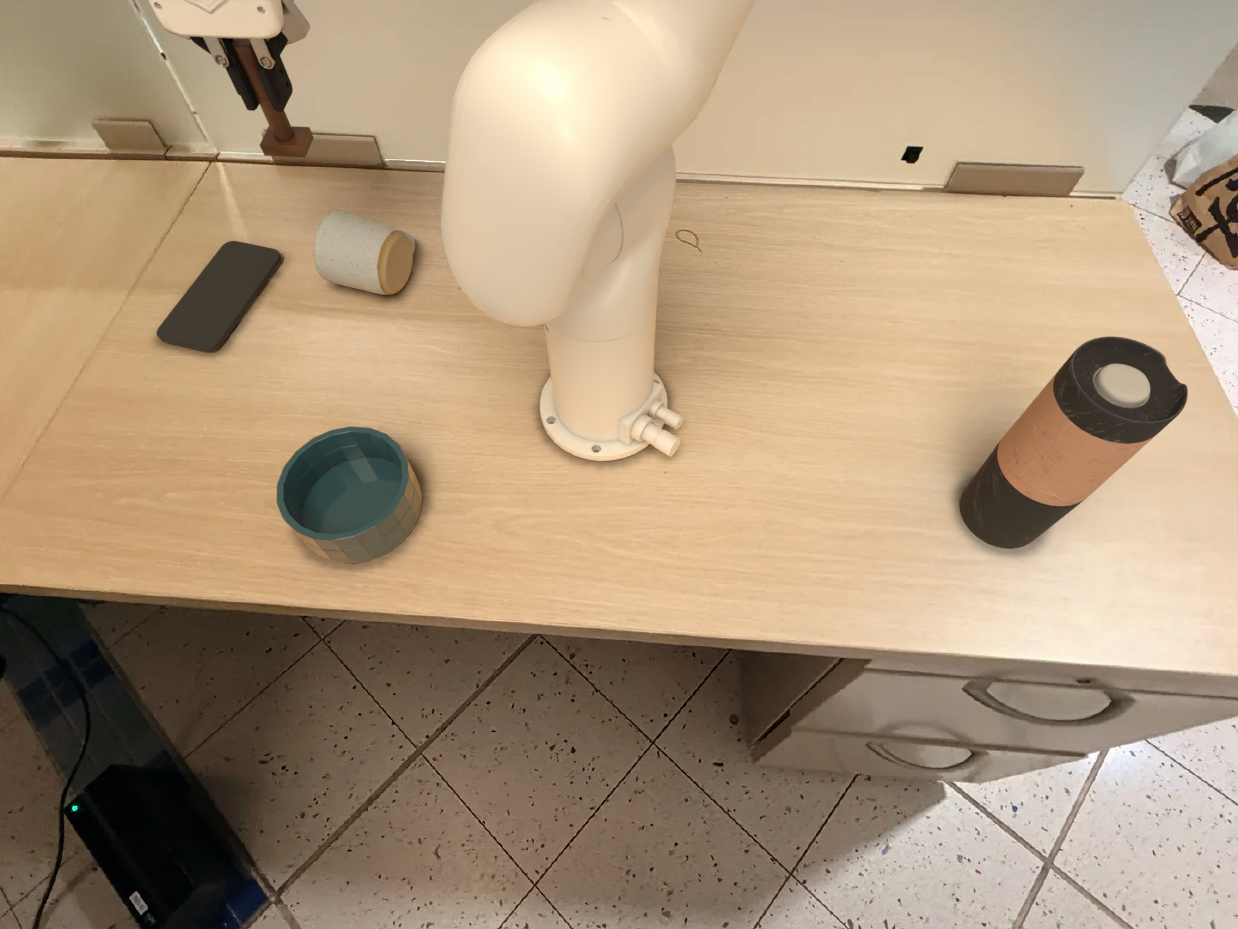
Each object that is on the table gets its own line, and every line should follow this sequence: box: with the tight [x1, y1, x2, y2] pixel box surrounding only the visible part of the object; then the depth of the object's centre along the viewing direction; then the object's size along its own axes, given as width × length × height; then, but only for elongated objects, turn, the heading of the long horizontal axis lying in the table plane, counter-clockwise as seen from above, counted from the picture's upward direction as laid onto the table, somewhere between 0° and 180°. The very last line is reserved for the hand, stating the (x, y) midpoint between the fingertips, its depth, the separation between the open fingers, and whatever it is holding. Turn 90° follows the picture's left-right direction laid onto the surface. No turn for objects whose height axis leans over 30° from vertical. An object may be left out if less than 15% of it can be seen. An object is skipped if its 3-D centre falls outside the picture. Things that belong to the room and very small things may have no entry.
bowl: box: [276, 426, 423, 564], centre depth 65 cm, size 11×11×5 cm
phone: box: [156, 240, 283, 353], centre depth 80 cm, size 7×1×15 cm
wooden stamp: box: [232, 38, 314, 158], centre depth 66 cm, size 4×3×10 cm
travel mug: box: [959, 335, 1189, 549], centre depth 58 cm, size 8×8×20 cm
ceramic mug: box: [312, 210, 416, 296], centre depth 79 cm, size 11×8×8 cm
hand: (270, 100), depth 67 cm, fingers closed on wooden stamp
